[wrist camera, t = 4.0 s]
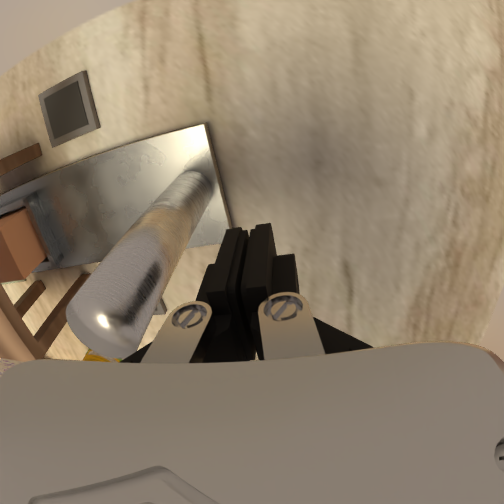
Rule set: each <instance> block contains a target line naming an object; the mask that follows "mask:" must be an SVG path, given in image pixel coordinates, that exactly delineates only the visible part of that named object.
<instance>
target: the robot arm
mask: <svg viewBox="0 0 504 504" xmlns="http://www.w3.org/2000/svg"><path fill="white" fill-rule="evenodd" d="M256 352H257V355H258V359H259V360H258V361H250V360H255V355H256ZM0 504H504V362H503V361H502V360H501V359H500V358H499V357H498V356H497V355H496V354H494V353H493V352H492V351H490V350H487V349H486V348H484V347H481V346H478V345H474V344H469V343H462V342H453V341H425V342H414V343H405V344H398V345H392V346H384V347H377V348H374V347H372V346H370V345H368V344H366V343H364V342H362V341H360V340H358V339H356V338H354V337H352V336H350V335H348V334H346V333H344V332H342V331H340V330H338V329H336V328H334V327H332V326H330V325H328V324H326V323H324V322H322V321H320V320H318V319H316V318H314V317H313V316H312V313H311V310H310V307H309V304H308V302H307V300H306V299H305V297H303V296H302V295H300V294H299V284H298V275H297V268H296V261H295V255H294V254H287V255H279V256H277V254H276V248H275V243H274V237H273V232H272V226H271V223H266V224H259V225H256V227H255V229H251V231H250V237H249V235H248V231H247V230H242V228H241V227H238V228H231V229H226V232H225V235H224V238H223V241H222V244H221V247H220V250H219V253H218V256H217V259H216V262H215V264H209V265H208V267H207V269H206V272H205V275H204V278H203V281H202V283H201V286H200V289H199V292H198V295H197V298H196V301H192V302H188V303H184V304H182V305H180V306H178V307H177V308H175V309H174V310H173V311H172V312H171V313H170V314H169V316H168V317H167V319H166V321H165V322H164V324H163V325H162V327H161V329H160V330H159V332H158V334H157V335H156V337H155V339H154V340H153V342H151V343H149V344H148V345H146V346H144V347H143V348H141V349H140V350H138V351H136V352H135V353H133V354H131V355H130V356H128V357H127V358H125V359H123V360H122V361H120V362H119V363H117V362H96V361H80V360H61V359H38V360H31V361H26V362H23V363H20V364H17V365H15V366H13V367H11V368H9V369H8V370H7V371H6V372H5V373H4V374H3V375H2V376H1V377H0Z"/></svg>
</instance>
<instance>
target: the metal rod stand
mask: <svg viewBox="0 0 504 504" xmlns="http://www.w3.org/2000/svg"><path fill="white" fill-rule="evenodd" d="M23 207H26V209H27V212H28V214H29V217H30V219H31V221H32V224H33V226H34V229H35V231H36V233H37V235H38V238H39V240H40V242H41V244H42V247H43V249H44V251H45V253H46V255H47V257H46V258H45V259H44V260H43V261H42V262H41V263H40V264H39V265H38V266H37V267H36V268H35V269H34V270H33V271H32V272H31V273H33V272H39V271H45V270H51V269H58V268H64V267H70V266H76V265H82V264H89V263H95V262H101V263H100V264H99V265H98V266H97V268H96V269H95V270H94V271H93V273H92V274H91V275H90V276H89V278H88V279H87V280H86V281H85V283H84V284H83V285H82V287H81V288H80V289H79V290H78V292H77V293H76V294H75V296H74V297H73V298H72V300H71V301H70V302H69V304H68V305H67V308H66V318H67V322H68V324H69V327H70V328H71V330H72V332H73V333H74V334H75V336H76V337H77V338H78V339H79V340H80V341H81V342H82V343H83V344H84V345H86V346H87V347H88V348H90V349H91V350H93V351H95V352H97V353H99V354H101V355H103V356H106V357H110V358H116V359H123V358H127V357H128V356H130V355H131V354H133V353H135V352H136V351H137V349H138V347H139V344H140V342H141V340H142V338H143V336H144V333H145V331H146V329H147V327H148V325H149V322H150V320H151V318H152V316H153V314H154V312H155V310H156V307H157V305H158V303H159V301H160V299H161V297H162V295H163V293H164V291H165V289H166V287H167V284H168V282H169V280H170V278H171V276H172V274H173V272H174V270H175V268H176V266H177V264H178V262H179V260H180V258H181V256H182V254H183V252H184V250H185V249H186V248H193V247H200V246H207V245H214V244H220V243H222V241H223V238H224V235H225V232H226V229H231V228H232V224H231V220H230V216H229V212H228V208H227V204H226V200H225V196H224V192H223V188H222V183H221V179H220V175H219V171H218V167H217V163H216V159H215V155H214V151H213V147H212V142H211V138H210V134H209V130H208V126H207V123H203V124H199V125H195V126H191V127H187V128H183V129H179V130H175V131H171V132H168V133H164V134H160V135H157V136H153V137H150V138H146V139H143V140H140V141H136V142H133V143H130V144H127V145H124V146H121V147H118V148H115V149H112V150H109V151H106V152H103V153H100V154H97V155H94V156H91V157H89V158H86V159H83V160H80V161H78V162H75V163H73V164H70V165H67V166H65V167H62V168H60V169H57V170H55V171H52V172H50V173H48V174H45V175H43V176H41V177H38V178H36V179H34V180H31V181H29V182H27V183H25V184H22V185H20V186H18V187H16V188H14V189H12V190H10V191H8V192H5V193H3V194H1V195H0V218H1V217H2V216H4V215H5V214H8V213H10V212H12V211H15V210H17V209H20V208H23Z"/></svg>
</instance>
